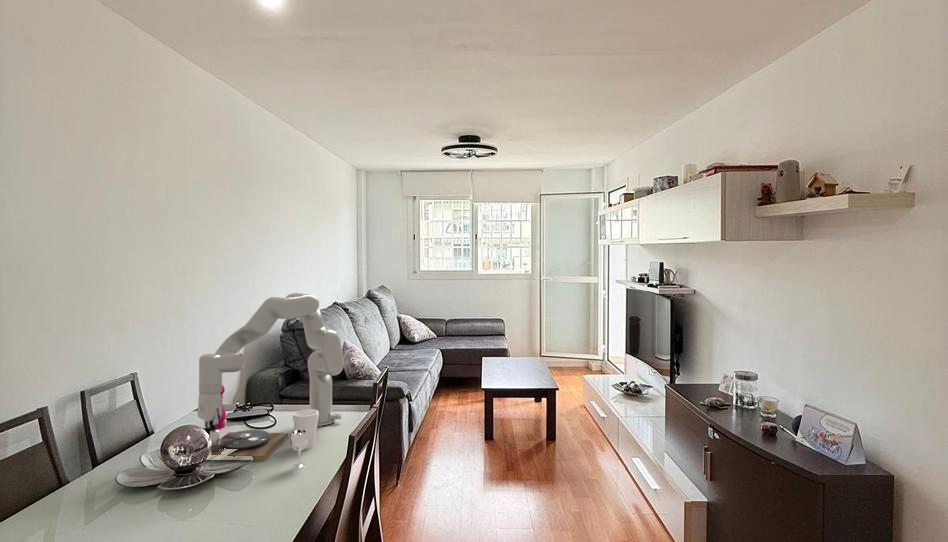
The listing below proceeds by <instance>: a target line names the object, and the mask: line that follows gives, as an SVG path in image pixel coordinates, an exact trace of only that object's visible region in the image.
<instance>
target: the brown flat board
mask: <svg viewBox="0 0 948 542" xmlns="http://www.w3.org/2000/svg"><path fill="white" fill-rule="evenodd" d="M234 432H235V431H232V432H231V431H230V432H229V431H228V432H227V433H226V434H225V435H223V436H222V437H224V436H226V435H228V434H231V433H234ZM268 433H269V441H268V442H266V443H265V444H263V445H260V446H257V447H253V448H248V449H238V450H236V451H234V452H232V453H230V454H228V455H227V456H233V457H235V456H252V457H253V461H252V462H265V460H267V459H268V458H269V457H270V456H271V455H272V454H273V453H274V452H275V451H277V449H278V448H280V447H281V446H282V445H283V444H284V443H285V442H286V441H287V440H288V439H289V432H268ZM222 437H219V443H220V440H221V438H222ZM223 450H224V449H223ZM223 450H222V449H221V450H220V451H219V450H217V451H213V452H212V453H211V455H221V452H222V451H223Z"/></svg>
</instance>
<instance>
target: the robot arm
mask: <svg viewBox="0 0 948 542" xmlns="http://www.w3.org/2000/svg"><path fill="white" fill-rule="evenodd" d="M319 307H320V300H319V298H318V297H317V296H315V295H314V294H310V293H309V294H308V293H300V292H299V293H298V292H293V293H290V294H287V295H286V296H285V297H280V296H279V297H277V296H271V297H268V298H267V299H265V300H264V302H263V303H262V304H261V305H260V306H259V308H258V309H257V310H256V311H255V312H254V314H253V315H252V316H251V317H250V319H249V320H248V321H247V322H246V323H245V324H244V325H243V326H242V327H240V328H238V329H237V330H236V331H235V332H233V333H232V334H231V335H229V336H228V337H227V338H226V339H225V340H224V341H223V342H222V344H220V346H219V347H218V348H217V350H216V351H215V353H207V354H202V355H200V357H199V359H198V399H197V400H198V403H197V417H198V418H199V419H201V420H203V421H204V432H205V431H206V432H207V433H208V434H209V435H210V431H211V430H214V429H216V424H218V419H221V416H222V404H223V402H222V403H221V393H220V392H222V385H223V373H224V374H225V373H237V372H241V371H242V370H243V369H245V367H246V365H247V358H246V357H245V355H244V354H242V353H241V352H240V351H241V350H242V349H243V348H244V347H246V346H247V345H249V344H252V343H255V342H257V341H260V340H261V339H264V337H266V335H268V333H269V332H270V330H271V329H272V328H273V326H274V325H275V324H276V322H277V321H278V320H291V319H297V318H300V320H301V323H302V325H303V330H304V335H305V336H304V337H305V340H306V345H307V346H308V347H309V348H310V349H312V350H315V351H313V352H312V353H311V354H310V355H309V356H308V358H307V369H308V374H309V375H308V376H309V409H313V410H317V411H318V412H319V418H318V423H317V427H322V426H321V425H326V424H330V423H332V422H334V421H335V420H342V417H343V416H342V414H341V413H335V411H334V410H333V378H332V376H337V375H339V374H341V372H342V371H343V370H344V366H345V358H344V353H343V347H342V343H341V338H340V336H339V334H338V332H336V331H335V330H333V329H330V328H326V326H325V323H324V319H323V315H322V312H321V310H320V308H319ZM335 422H336V421H335ZM335 422H334V423H335ZM330 425H331V424H330Z"/></svg>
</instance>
